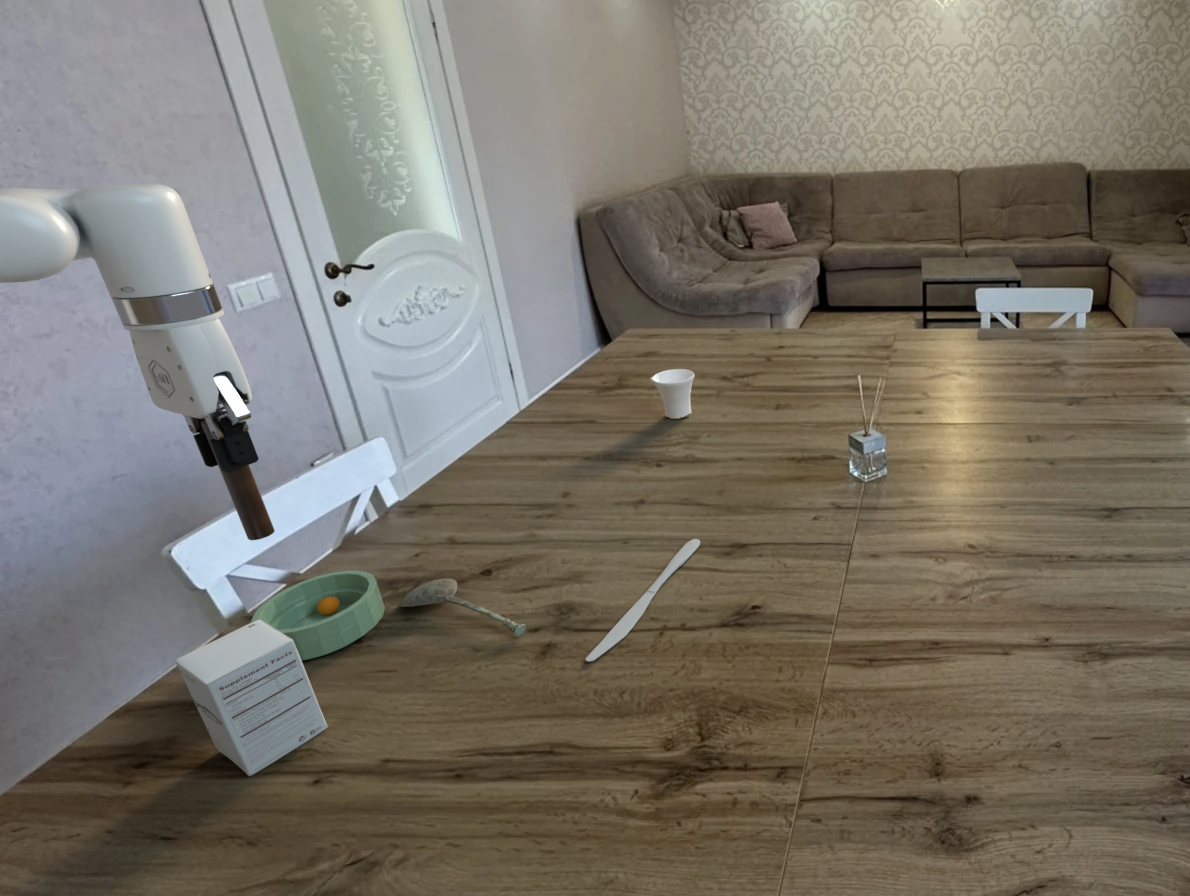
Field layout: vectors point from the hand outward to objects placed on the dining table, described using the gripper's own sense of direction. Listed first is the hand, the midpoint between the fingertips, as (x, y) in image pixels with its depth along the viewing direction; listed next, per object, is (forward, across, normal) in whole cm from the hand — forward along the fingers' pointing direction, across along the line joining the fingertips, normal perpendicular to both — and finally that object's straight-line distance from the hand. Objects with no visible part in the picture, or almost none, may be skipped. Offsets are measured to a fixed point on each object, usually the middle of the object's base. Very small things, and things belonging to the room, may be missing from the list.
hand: (232, 462), depth 81 cm
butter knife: (+27, +32, +25) cm, 49 cm away
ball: (+25, -5, +6) cm, 27 cm away
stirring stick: (+10, 0, 0) cm, 10 cm away
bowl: (+27, -2, +4) cm, 28 cm away
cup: (+28, -7, +77) cm, 82 cm away
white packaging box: (+27, +11, -10) cm, 31 cm away
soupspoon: (+28, +12, +13) cm, 32 cm away
